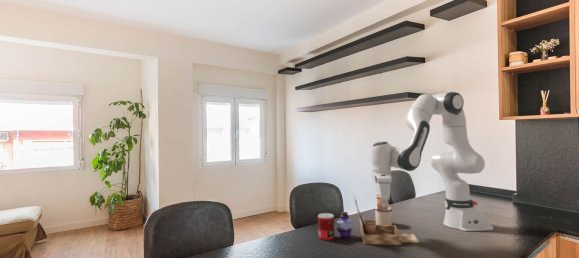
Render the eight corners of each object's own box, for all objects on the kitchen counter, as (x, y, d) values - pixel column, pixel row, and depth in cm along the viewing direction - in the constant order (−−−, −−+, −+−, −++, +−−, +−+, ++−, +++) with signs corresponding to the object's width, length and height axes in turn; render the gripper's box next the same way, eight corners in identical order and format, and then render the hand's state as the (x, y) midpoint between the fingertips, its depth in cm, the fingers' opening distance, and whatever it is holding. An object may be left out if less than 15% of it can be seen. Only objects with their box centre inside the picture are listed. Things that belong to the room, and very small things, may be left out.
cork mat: (413, 235, 141) (413, 234, 141) (419, 243, 131) (419, 241, 131) (398, 234, 142) (398, 233, 142) (403, 242, 133) (403, 241, 133)
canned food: (330, 241, 136) (330, 218, 136) (315, 238, 140) (315, 216, 140) (337, 236, 142) (336, 214, 142) (322, 234, 146) (321, 212, 147)
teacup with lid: (396, 226, 155) (395, 204, 155) (380, 227, 153) (380, 205, 153) (384, 219, 167) (383, 199, 167) (369, 221, 165) (369, 200, 165)
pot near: (387, 207, 141) (387, 193, 141) (389, 210, 135) (389, 196, 135) (375, 207, 142) (375, 193, 142) (377, 210, 136) (376, 196, 136)
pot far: (375, 232, 145) (375, 219, 145) (377, 236, 140) (376, 222, 140) (364, 231, 146) (363, 218, 146) (365, 235, 141) (364, 222, 141)
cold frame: (395, 233, 145) (394, 193, 145) (402, 245, 130) (400, 201, 130) (354, 232, 148) (353, 193, 148) (356, 243, 133) (355, 200, 133)
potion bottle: (335, 233, 146) (334, 210, 146) (352, 233, 146) (351, 209, 146) (337, 240, 137) (336, 215, 138) (355, 240, 137) (355, 214, 137)
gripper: (372, 172, 149) (373, 199, 149) (377, 179, 129) (378, 210, 129) (384, 172, 148) (385, 199, 148) (392, 179, 128) (393, 210, 128)
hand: (382, 204), depth 139 cm, fingers closed on pot near, 5 cm apart
